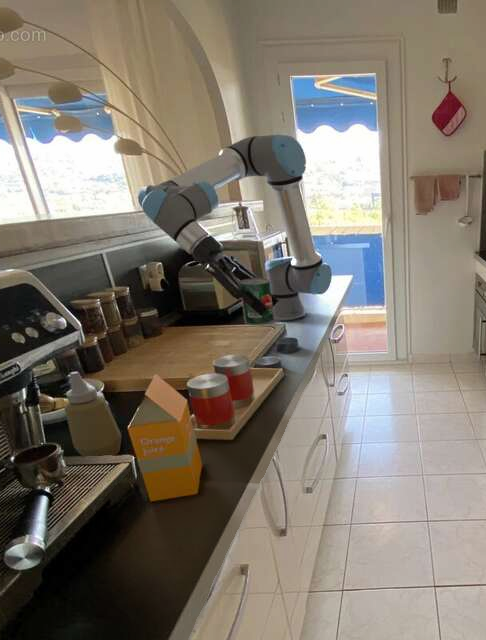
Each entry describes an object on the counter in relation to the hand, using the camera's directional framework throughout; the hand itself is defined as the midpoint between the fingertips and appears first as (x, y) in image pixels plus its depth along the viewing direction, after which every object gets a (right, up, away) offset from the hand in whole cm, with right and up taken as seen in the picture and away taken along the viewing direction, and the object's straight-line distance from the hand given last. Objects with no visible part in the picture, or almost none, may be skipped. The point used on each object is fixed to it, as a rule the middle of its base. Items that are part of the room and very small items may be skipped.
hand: (270, 308), depth 121 cm
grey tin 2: (-2, -8, +26) cm, 27 cm away
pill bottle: (-31, -32, -22) cm, 49 cm away
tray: (-5, -26, -10) cm, 28 cm away
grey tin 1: (-3, -16, +10) cm, 19 cm away
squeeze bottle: (-24, -36, -31) cm, 54 cm away
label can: (-5, -31, -21) cm, 38 cm away
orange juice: (-5, -40, -39) cm, 57 cm away
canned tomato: (-3, -3, +2) cm, 5 cm away
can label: (-5, -26, -10) cm, 28 cm away
